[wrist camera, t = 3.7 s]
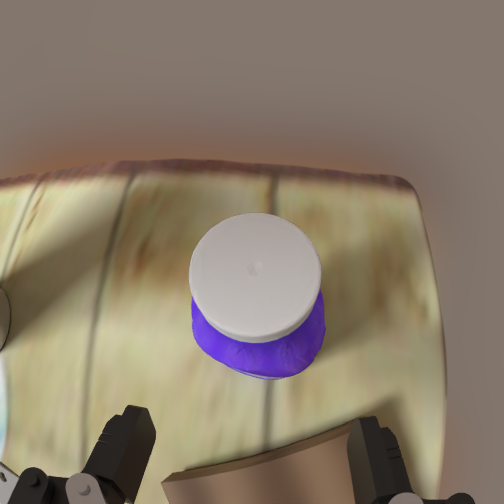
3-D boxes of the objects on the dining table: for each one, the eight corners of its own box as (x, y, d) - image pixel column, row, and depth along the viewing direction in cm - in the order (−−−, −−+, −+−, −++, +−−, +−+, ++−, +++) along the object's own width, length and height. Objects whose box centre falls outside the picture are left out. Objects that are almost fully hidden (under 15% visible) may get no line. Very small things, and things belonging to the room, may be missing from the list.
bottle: (311, 325, 25) (380, 219, 9) (292, 388, 23) (346, 393, 7) (230, 301, 26) (181, 169, 11) (209, 362, 24) (110, 314, 8)
